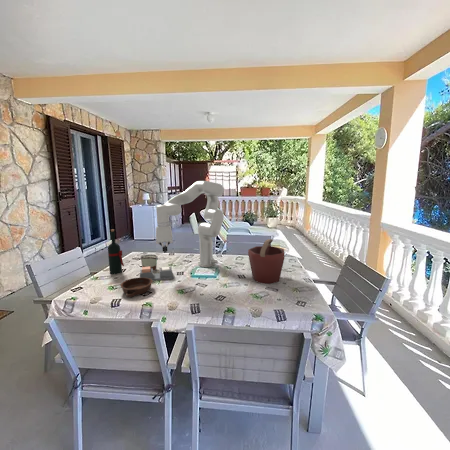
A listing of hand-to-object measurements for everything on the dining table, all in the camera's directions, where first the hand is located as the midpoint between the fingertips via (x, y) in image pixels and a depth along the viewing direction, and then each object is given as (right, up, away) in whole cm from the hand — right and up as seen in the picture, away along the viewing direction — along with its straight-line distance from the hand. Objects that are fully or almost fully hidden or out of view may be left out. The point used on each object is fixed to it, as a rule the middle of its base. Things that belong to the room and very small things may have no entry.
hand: (165, 252), depth 167 cm
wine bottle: (-35, -15, +11) cm, 40 cm away
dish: (-12, -20, -19) cm, 30 cm away
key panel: (-6, -16, +1) cm, 17 cm away
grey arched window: (-14, -14, +17) cm, 26 cm away
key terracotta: (-12, -13, -1) cm, 17 cm away
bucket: (+66, -17, -3) cm, 68 cm away
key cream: (0, -14, +2) cm, 14 cm away
